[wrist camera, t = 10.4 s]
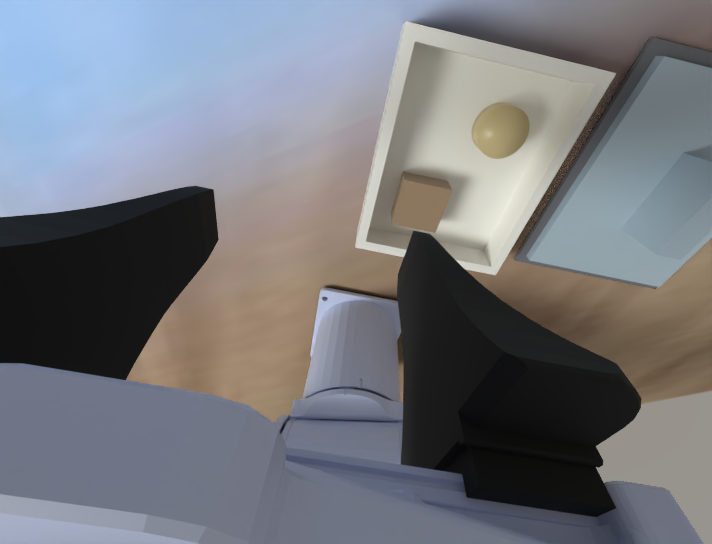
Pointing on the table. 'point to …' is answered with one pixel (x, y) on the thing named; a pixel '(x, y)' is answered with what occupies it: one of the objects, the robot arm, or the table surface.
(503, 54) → the storage box
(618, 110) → the mat
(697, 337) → the table surface
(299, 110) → the table surface
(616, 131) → the lid
